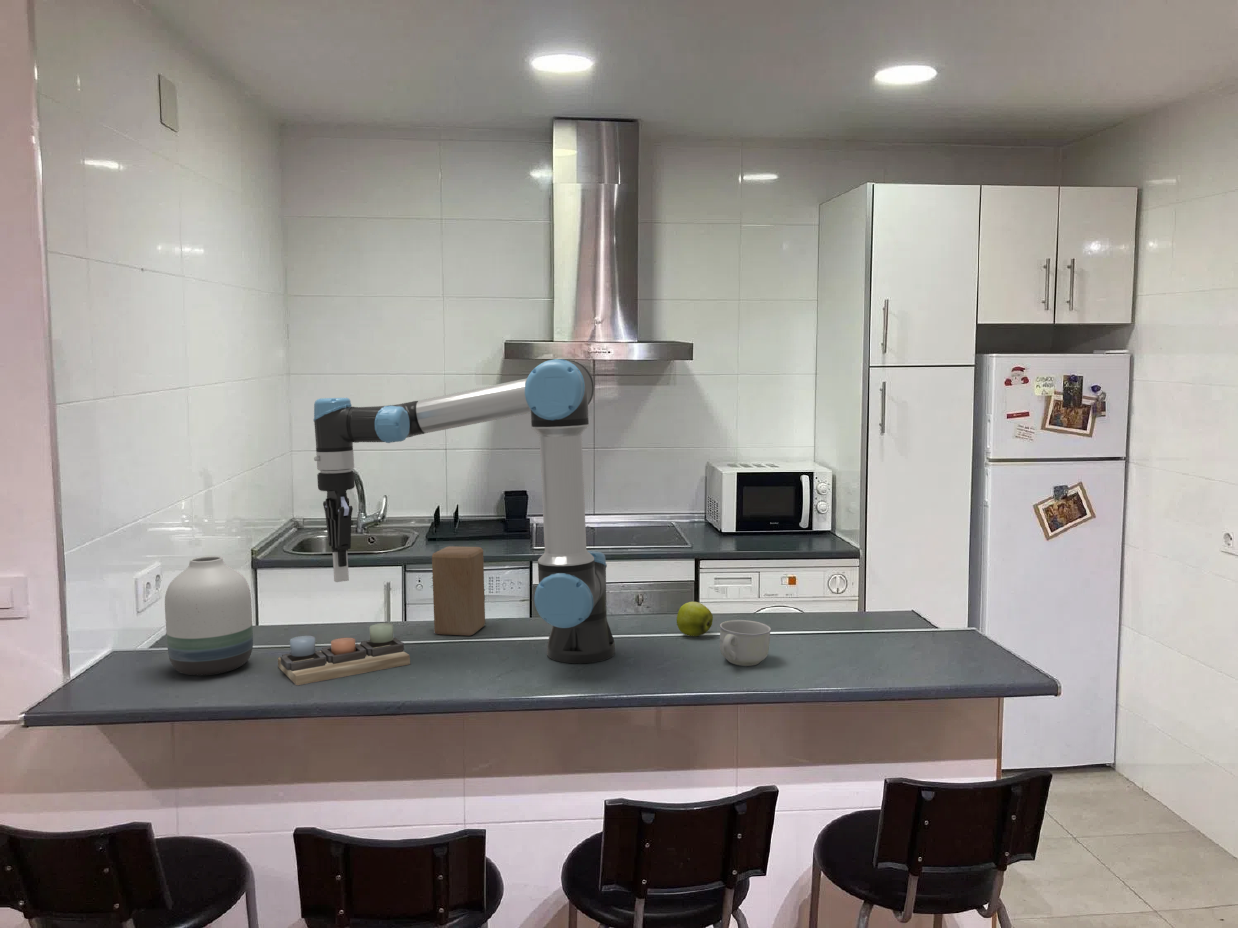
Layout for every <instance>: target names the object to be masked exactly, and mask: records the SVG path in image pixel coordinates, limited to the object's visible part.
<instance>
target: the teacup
mask: <svg viewBox="0 0 1238 928" xmlns="http://www.w3.org/2000/svg"><path fill="white" fill-rule="evenodd" d="M719 627H720V628H719V630H720V631H719V649H720V653H721V655H722V656H723V657H724V658H725V659H726V660H727V661H728V662H729V663H731V664H732V665H736V666H740V667H741V666H744V667H750V666H757V665H759V664H760V663H761V662H762V661H764V660H765V659H766V658H767V656H768V654H769V649H770V639H771V631H772V629H771V628H772V627H770V626H769V625H768V624H766V623H762V622H759V621H754V620H747V619H746V620H745V619H731V620H725V621H722V622H721V623H720V624H719Z"/></svg>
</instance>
